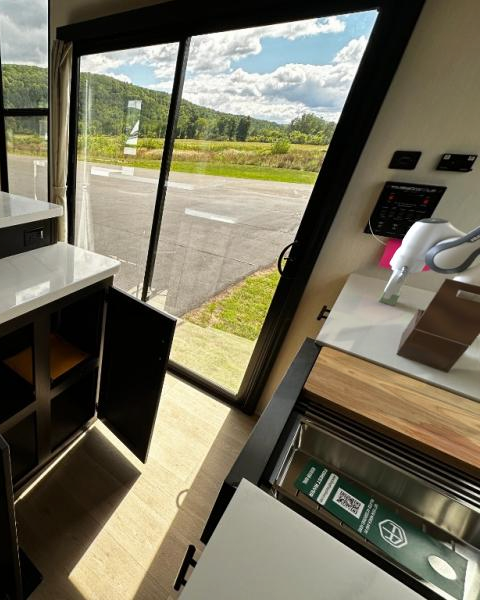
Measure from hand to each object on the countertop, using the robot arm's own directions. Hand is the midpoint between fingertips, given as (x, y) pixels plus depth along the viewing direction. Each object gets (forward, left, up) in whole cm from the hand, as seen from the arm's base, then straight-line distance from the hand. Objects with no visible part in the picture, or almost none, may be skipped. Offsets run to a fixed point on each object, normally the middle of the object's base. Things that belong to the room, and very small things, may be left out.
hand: (387, 294), depth 122 cm
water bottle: (-4, +18, -3) cm, 18 cm away
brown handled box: (+13, +34, +15) cm, 39 cm away
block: (-1, +1, -3) cm, 3 cm away
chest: (+9, +30, -3) cm, 31 cm away
